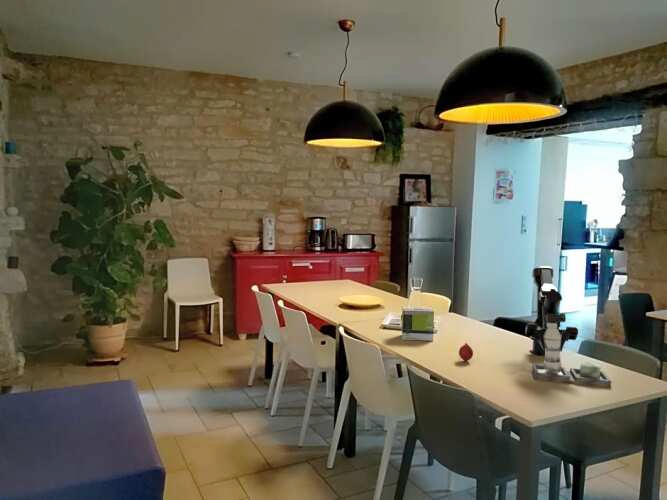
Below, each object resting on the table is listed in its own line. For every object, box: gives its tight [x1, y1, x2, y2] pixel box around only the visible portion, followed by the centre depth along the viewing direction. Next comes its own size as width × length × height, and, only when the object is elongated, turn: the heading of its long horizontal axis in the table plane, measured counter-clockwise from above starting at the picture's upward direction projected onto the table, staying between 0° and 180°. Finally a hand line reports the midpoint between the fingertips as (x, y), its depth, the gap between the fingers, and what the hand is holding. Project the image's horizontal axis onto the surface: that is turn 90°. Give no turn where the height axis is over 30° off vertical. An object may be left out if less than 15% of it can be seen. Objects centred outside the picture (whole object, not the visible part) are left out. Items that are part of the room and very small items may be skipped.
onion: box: [458, 342, 474, 362], centre depth 217 cm, size 6×6×8 cm
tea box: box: [401, 306, 435, 342], centre depth 253 cm, size 15×10×15 cm, turn 84°
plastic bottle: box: [543, 322, 563, 374], centre depth 200 cm, size 6×7×20 cm
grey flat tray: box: [531, 361, 612, 389], centre depth 199 cm, size 26×12×6 cm, turn 75°
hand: (552, 350), depth 199 cm, fingers closed on plastic bottle, 6 cm apart
